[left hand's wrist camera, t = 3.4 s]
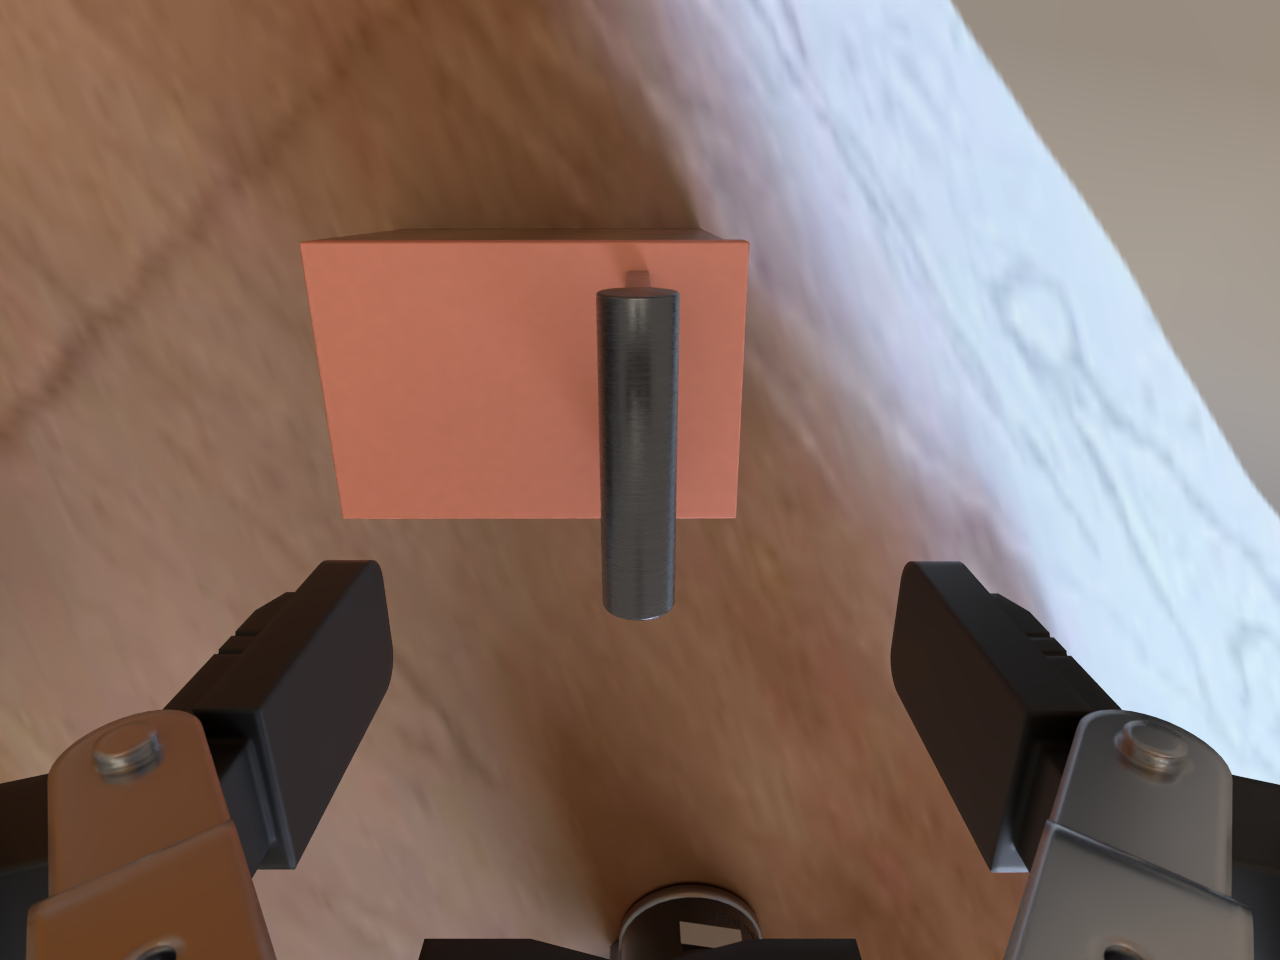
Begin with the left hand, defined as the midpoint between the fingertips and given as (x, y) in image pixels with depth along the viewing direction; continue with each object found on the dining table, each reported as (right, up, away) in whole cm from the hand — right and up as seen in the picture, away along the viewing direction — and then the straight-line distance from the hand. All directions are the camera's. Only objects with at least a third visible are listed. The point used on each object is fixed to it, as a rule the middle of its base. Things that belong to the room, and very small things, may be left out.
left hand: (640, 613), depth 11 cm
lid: (-4, +5, +14) cm, 16 cm away
